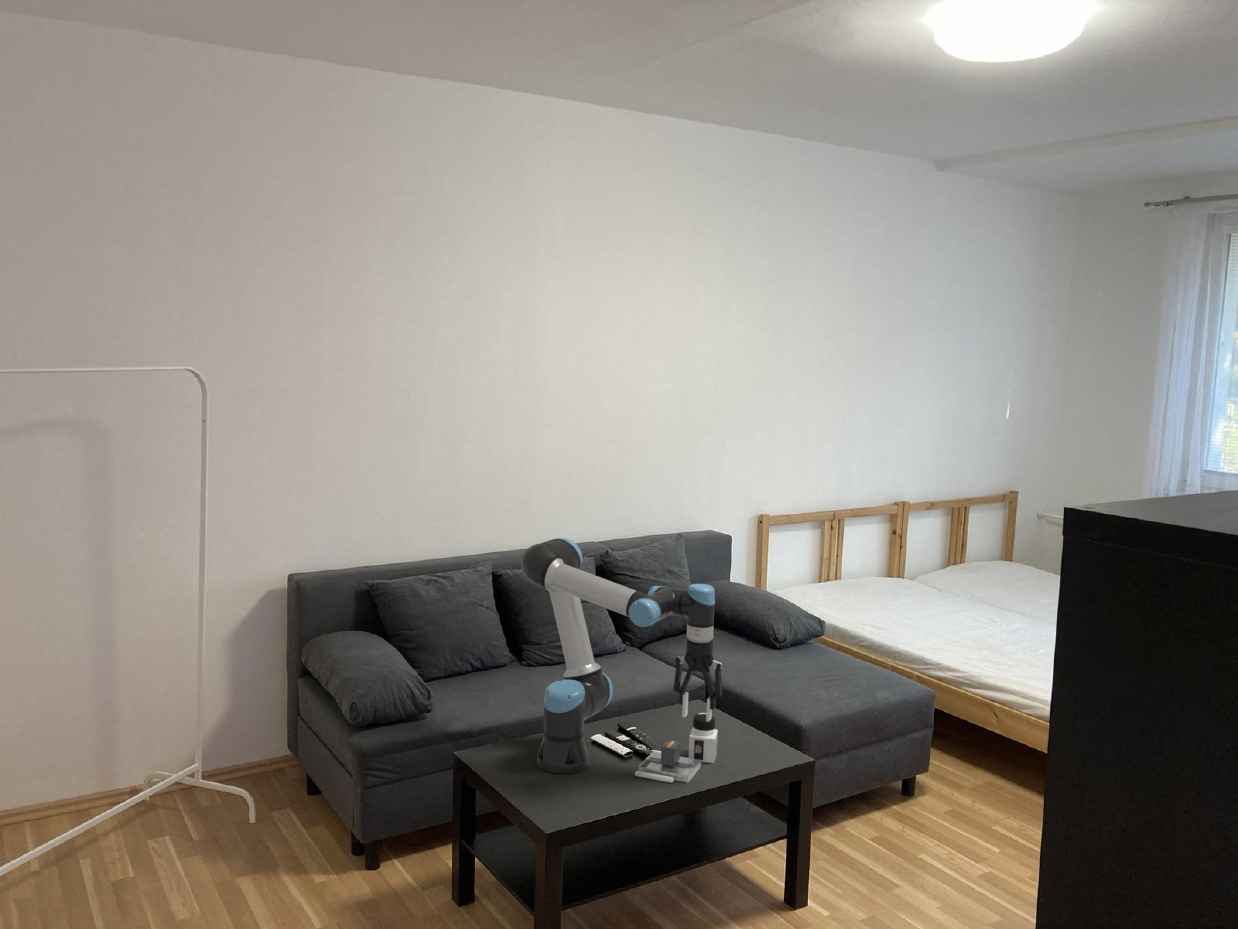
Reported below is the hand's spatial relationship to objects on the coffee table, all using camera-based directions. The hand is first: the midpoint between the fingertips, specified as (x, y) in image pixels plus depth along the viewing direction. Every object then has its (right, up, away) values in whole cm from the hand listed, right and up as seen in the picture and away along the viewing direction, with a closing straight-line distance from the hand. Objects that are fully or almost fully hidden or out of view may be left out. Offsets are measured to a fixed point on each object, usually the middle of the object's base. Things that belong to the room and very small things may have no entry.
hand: (696, 717), depth 284 cm
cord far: (-10, -15, +14) cm, 23 cm away
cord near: (-12, -17, -2) cm, 21 cm away
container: (+3, -16, +15) cm, 22 cm away
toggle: (-7, -14, +4) cm, 16 cm away
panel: (-7, -16, +5) cm, 19 cm away
